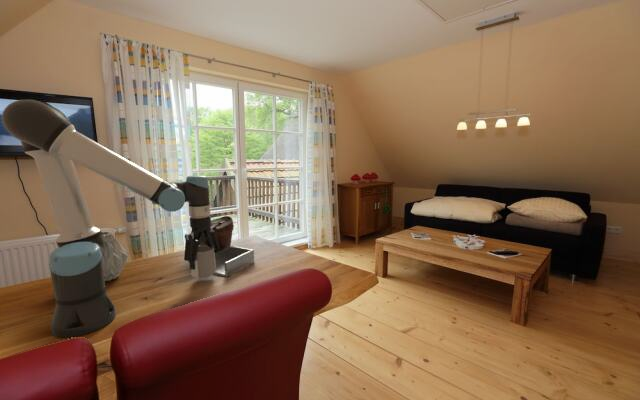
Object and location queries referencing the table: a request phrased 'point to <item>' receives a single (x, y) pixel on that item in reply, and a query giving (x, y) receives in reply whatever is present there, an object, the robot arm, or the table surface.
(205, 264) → the cup
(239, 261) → the silver open box
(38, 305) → the table surface
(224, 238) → the case
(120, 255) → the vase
